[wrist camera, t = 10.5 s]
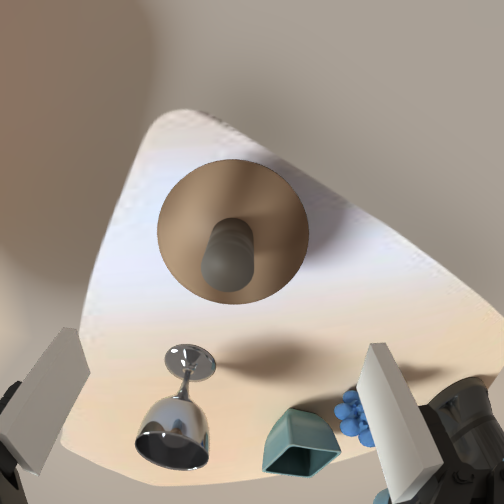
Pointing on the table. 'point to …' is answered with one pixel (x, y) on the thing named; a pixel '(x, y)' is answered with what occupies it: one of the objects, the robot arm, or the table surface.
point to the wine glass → (178, 416)
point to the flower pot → (299, 445)
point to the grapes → (354, 418)
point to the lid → (233, 232)
